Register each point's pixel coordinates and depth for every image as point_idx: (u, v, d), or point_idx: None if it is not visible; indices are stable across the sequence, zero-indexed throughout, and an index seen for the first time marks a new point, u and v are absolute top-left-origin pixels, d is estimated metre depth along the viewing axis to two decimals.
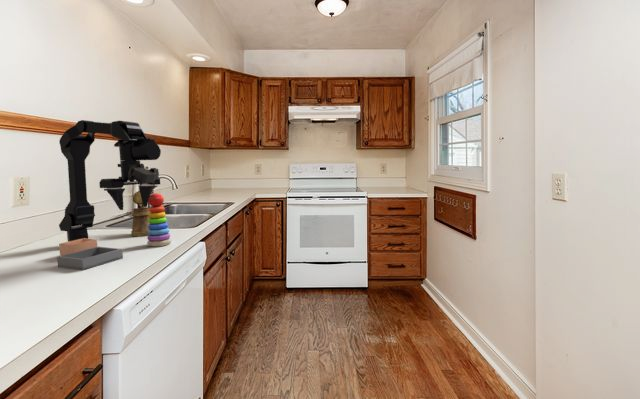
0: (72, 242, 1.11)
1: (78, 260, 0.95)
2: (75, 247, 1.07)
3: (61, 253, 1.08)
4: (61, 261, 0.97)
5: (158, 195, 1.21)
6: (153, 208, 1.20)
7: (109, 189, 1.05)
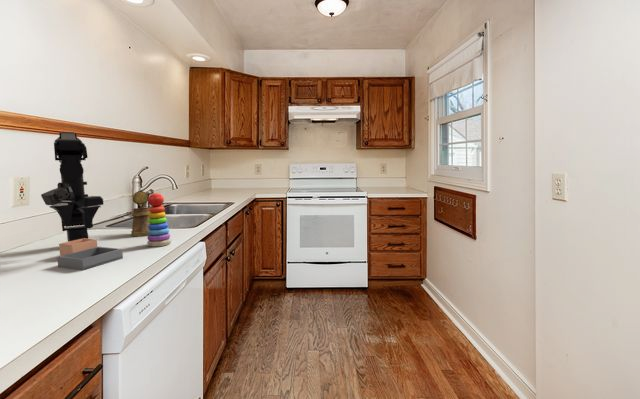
0: (72, 242, 1.11)
1: (78, 260, 0.95)
2: (75, 247, 1.07)
3: (61, 253, 1.08)
4: (61, 261, 0.97)
5: (158, 195, 1.21)
6: (153, 208, 1.20)
7: None
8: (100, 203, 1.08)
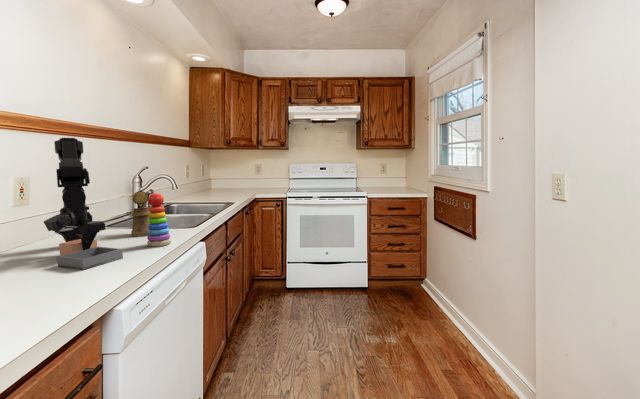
0: (72, 242, 1.11)
1: (78, 260, 0.95)
2: (75, 247, 1.07)
3: (61, 253, 1.08)
4: (61, 261, 0.97)
5: (158, 195, 1.21)
6: (153, 208, 1.20)
7: None
8: (102, 228, 1.09)
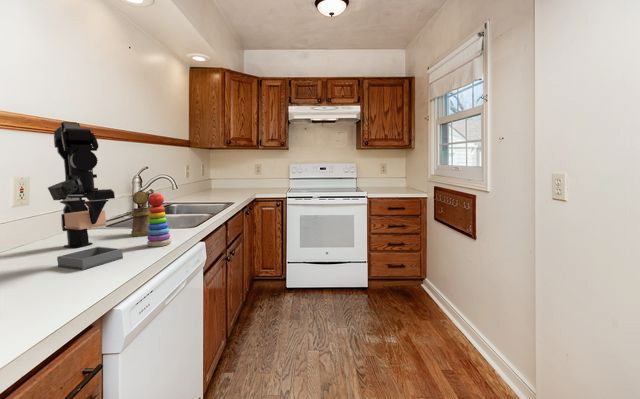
0: (78, 213, 1.02)
1: (78, 260, 0.95)
2: (82, 217, 0.98)
3: (66, 224, 0.99)
4: (61, 261, 0.97)
5: (158, 195, 1.21)
6: (153, 208, 1.20)
7: None
8: (111, 197, 1.00)
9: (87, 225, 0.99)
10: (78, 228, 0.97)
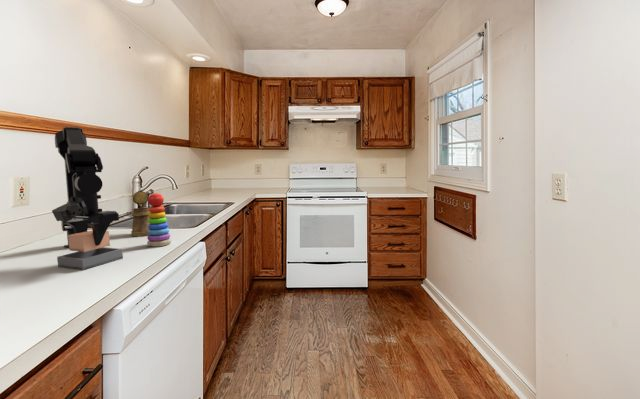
0: (82, 234, 1.02)
1: (78, 260, 0.95)
2: (86, 239, 0.98)
3: (70, 246, 0.99)
4: (61, 261, 0.97)
5: (158, 195, 1.21)
6: (153, 208, 1.20)
7: None
8: (116, 219, 0.99)
9: (91, 247, 0.99)
10: (82, 250, 0.97)
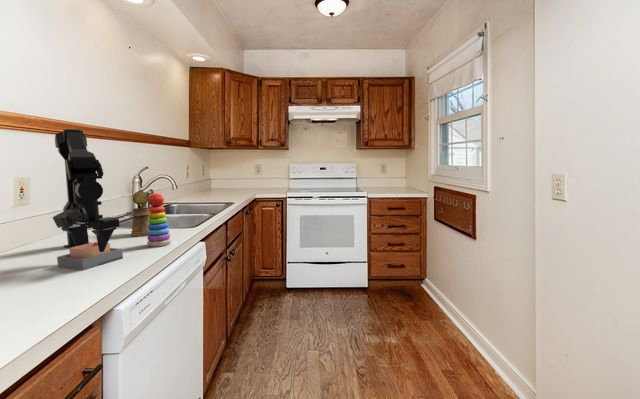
0: (83, 246, 1.02)
1: (78, 260, 0.95)
2: (88, 252, 0.98)
3: None
4: (61, 261, 0.97)
5: (158, 195, 1.21)
6: (153, 208, 1.20)
7: None
8: (116, 225, 0.99)
9: None
10: None
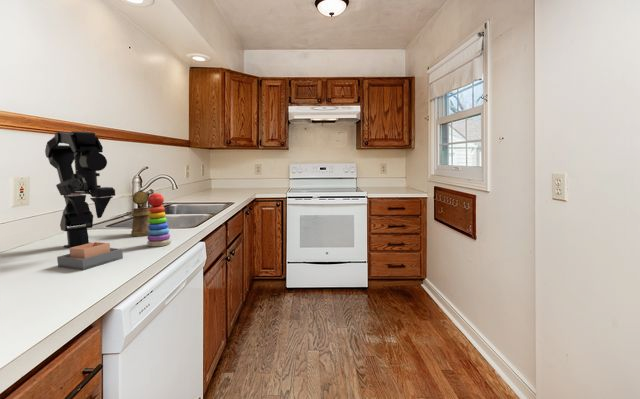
0: (83, 246, 1.02)
1: (78, 260, 0.95)
2: (88, 252, 0.98)
3: None
4: (61, 261, 0.97)
5: (158, 195, 1.21)
6: (153, 208, 1.20)
7: None
8: (112, 194, 1.12)
9: None
10: None
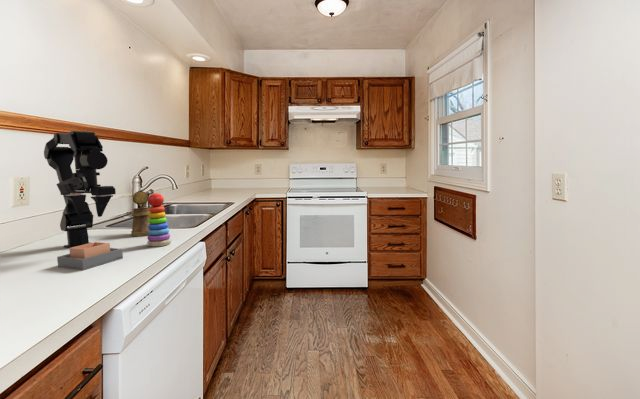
0: (83, 246, 1.02)
1: (78, 260, 0.95)
2: (88, 252, 0.98)
3: None
4: (61, 261, 0.97)
5: (158, 195, 1.21)
6: (153, 208, 1.20)
7: None
8: (112, 192, 1.12)
9: None
10: None
